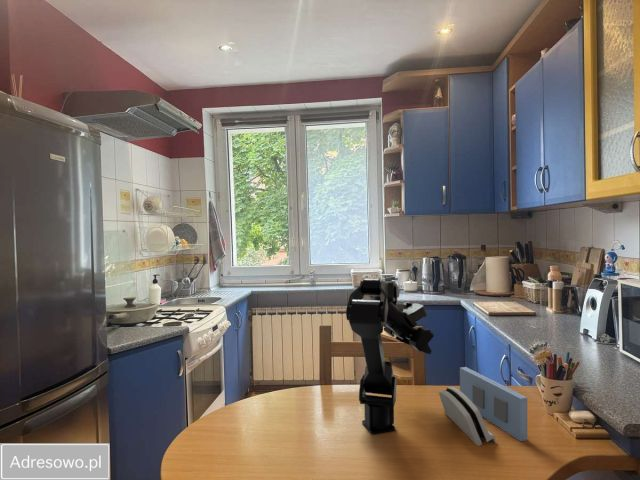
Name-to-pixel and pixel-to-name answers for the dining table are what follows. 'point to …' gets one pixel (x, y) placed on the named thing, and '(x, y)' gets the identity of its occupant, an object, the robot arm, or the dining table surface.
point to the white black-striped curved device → (465, 415)
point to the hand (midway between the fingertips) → (425, 350)
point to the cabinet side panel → (496, 402)
